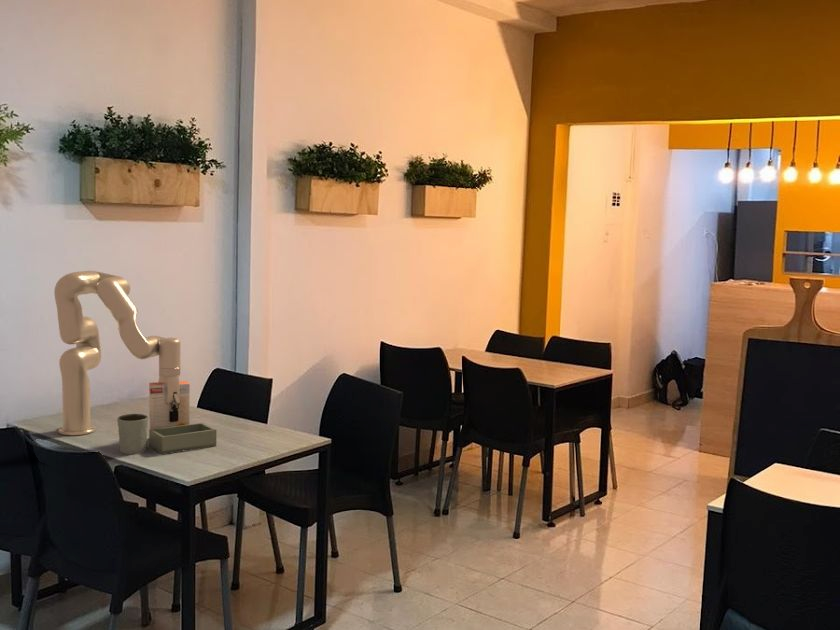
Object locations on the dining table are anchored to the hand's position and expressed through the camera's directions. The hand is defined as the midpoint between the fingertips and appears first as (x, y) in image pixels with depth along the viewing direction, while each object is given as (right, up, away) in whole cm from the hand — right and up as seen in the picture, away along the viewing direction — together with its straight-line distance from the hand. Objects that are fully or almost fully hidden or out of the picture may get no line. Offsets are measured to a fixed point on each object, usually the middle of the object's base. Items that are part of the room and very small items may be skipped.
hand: (169, 419), depth 311 cm
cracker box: (0, -8, +1) cm, 8 cm away
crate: (+7, -9, -8) cm, 14 cm away
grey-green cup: (-8, -9, -16) cm, 20 cm away
